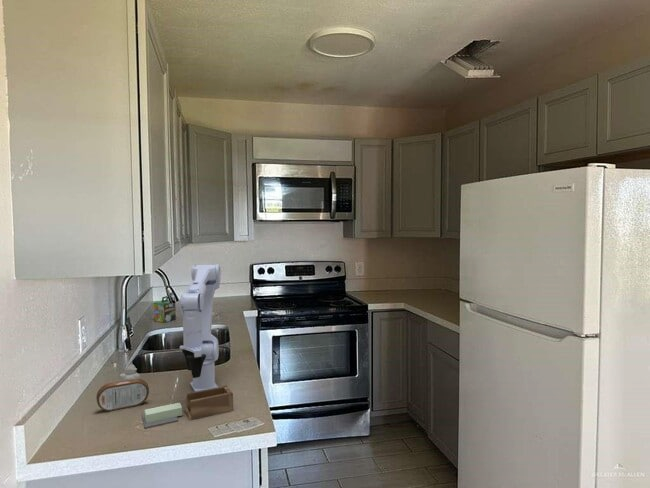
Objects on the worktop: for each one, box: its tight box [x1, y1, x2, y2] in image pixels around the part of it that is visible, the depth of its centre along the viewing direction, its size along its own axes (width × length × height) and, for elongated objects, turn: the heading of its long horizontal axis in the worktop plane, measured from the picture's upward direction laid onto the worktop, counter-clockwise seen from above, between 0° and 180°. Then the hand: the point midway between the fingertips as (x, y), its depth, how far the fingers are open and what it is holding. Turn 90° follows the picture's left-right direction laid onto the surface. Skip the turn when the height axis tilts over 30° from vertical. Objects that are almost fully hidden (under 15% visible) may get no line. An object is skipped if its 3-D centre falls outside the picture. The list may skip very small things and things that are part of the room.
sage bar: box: [144, 402, 183, 423], centre depth 126 cm, size 4×10×2 cm, turn 118°
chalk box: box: [153, 295, 177, 324], centre depth 252 cm, size 9×9×15 cm
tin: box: [95, 378, 150, 412], centre depth 133 cm, size 15×3×8 cm, turn 118°
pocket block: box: [184, 385, 234, 421], centre depth 130 cm, size 7×13×5 cm, turn 118°
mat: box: [141, 413, 179, 429], centre depth 125 cm, size 9×9×1 cm
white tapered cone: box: [119, 362, 141, 381], centre depth 153 cm, size 5×7×8 cm
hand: (194, 373), depth 133 cm, fingers open, 7 cm apart
